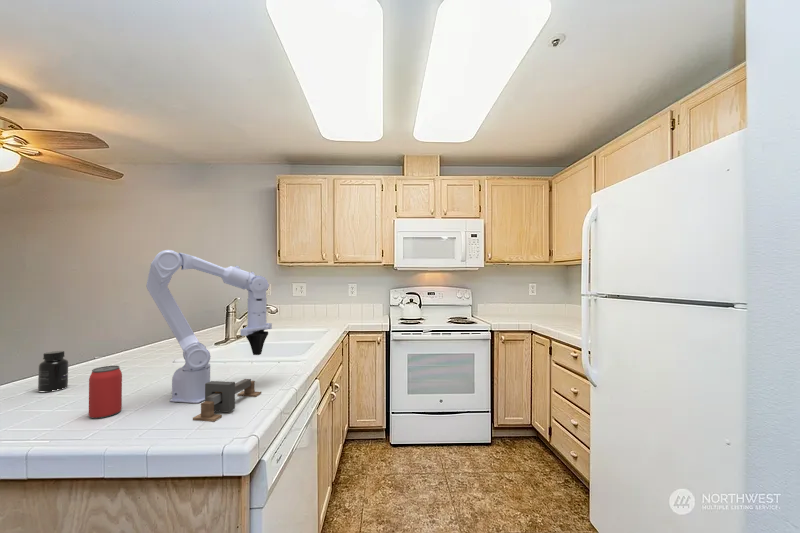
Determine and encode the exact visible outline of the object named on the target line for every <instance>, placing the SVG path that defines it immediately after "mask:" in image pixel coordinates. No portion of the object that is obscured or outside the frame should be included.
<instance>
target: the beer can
mask: <svg viewBox="0 0 800 533" xmlns="http://www.w3.org/2000/svg"><path fill="white" fill-rule="evenodd" d="M120 368H121V367H120V365H105V366H99V367H96V368H93V369H91V374H90V375H89V379H88V417H89V418H91V419H102V418H101V417H104V418H108V417H107V416H109V417H112V416H114V414H115V415H116V414H118V413H120V412H121V411H122V407H123V406H122V403H123V402H122V401H123V399H122V398H123V395H122V394H123V372H122V370H121V369H120ZM111 415H112V416H111Z"/></svg>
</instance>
